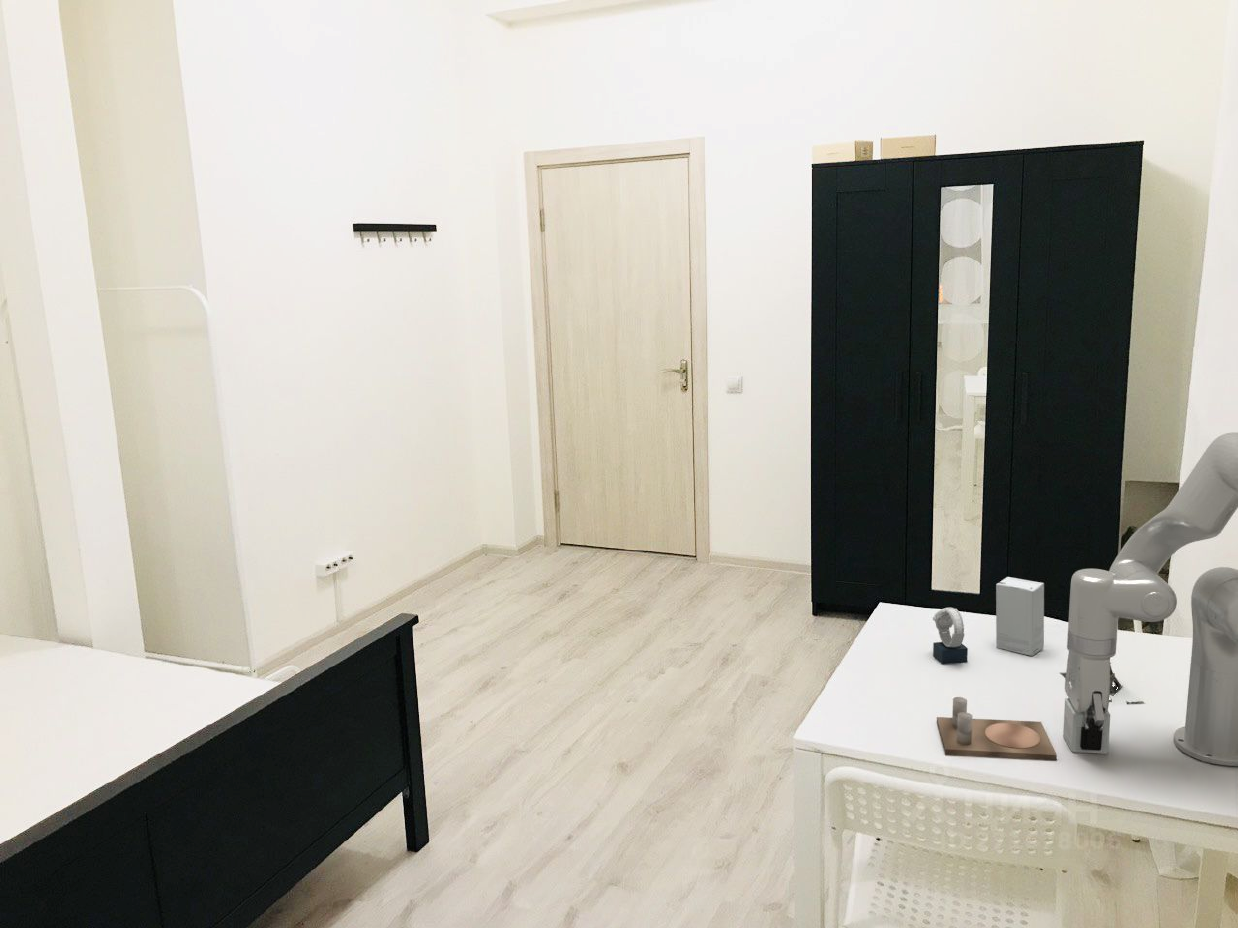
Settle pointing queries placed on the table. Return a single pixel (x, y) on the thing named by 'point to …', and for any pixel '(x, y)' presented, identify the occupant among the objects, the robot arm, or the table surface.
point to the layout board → (992, 736)
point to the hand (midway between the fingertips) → (1085, 738)
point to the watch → (950, 647)
